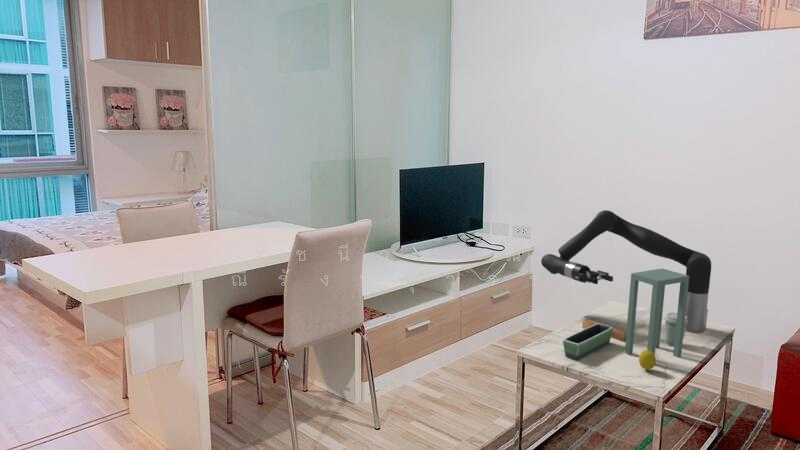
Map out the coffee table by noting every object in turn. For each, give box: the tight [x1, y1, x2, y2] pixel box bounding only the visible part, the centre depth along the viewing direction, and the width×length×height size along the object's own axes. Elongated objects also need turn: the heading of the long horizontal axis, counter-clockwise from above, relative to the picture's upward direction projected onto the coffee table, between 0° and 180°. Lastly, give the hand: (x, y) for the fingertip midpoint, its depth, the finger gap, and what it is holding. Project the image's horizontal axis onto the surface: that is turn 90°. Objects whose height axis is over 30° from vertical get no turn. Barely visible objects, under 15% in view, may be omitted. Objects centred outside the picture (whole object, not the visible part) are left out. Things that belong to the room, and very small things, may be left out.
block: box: [582, 319, 626, 343], centre depth 247 cm, size 4×20×4 cm, turn 37°
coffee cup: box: [664, 312, 688, 347], centre depth 236 cm, size 8×9×12 cm
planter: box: [562, 322, 614, 361], centre depth 229 cm, size 28×7×7 cm, turn 134°
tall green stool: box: [624, 268, 689, 358], centre depth 223 cm, size 17×12×32 cm
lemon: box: [638, 348, 657, 371], centre depth 211 cm, size 6×6×8 cm
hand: (604, 280), depth 245 cm, fingers open, 8 cm apart
